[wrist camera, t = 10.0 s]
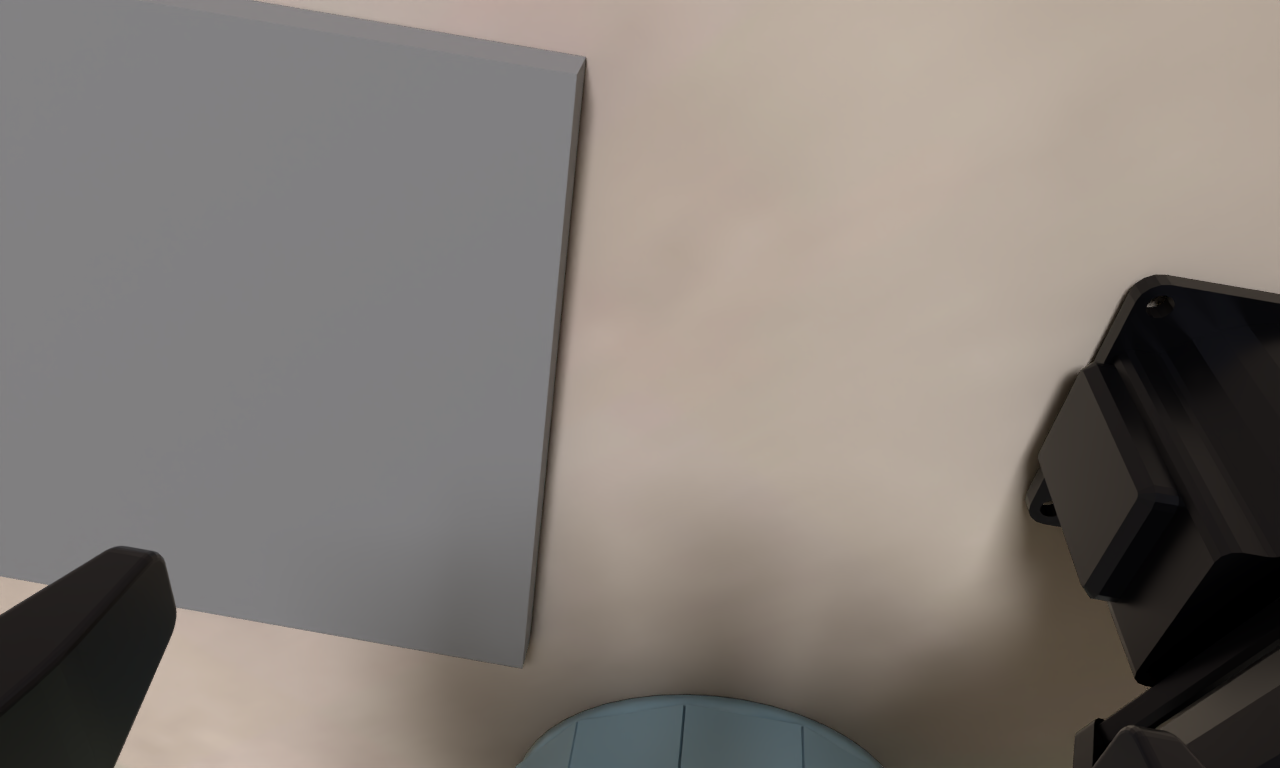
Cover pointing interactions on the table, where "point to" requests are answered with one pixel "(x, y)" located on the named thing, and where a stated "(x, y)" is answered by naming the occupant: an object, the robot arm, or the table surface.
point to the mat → (283, 311)
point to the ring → (693, 737)
